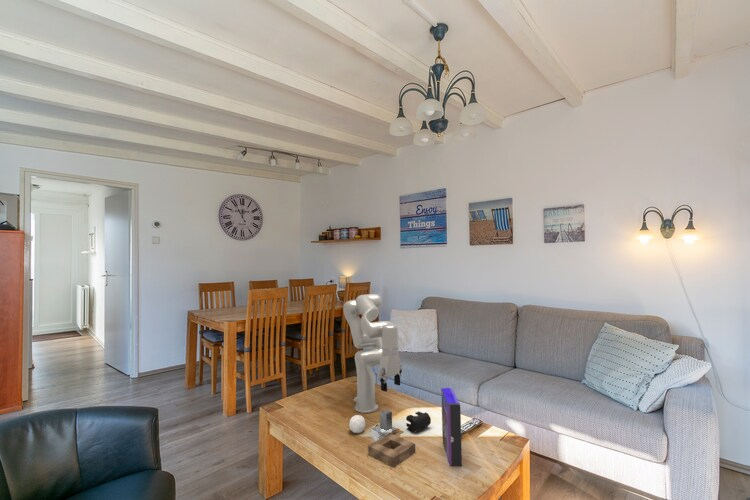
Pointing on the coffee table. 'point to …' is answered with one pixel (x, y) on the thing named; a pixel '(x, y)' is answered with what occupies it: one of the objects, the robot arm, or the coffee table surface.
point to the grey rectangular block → (386, 419)
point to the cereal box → (451, 426)
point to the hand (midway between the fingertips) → (390, 387)
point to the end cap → (418, 421)
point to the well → (391, 457)
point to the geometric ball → (357, 424)
